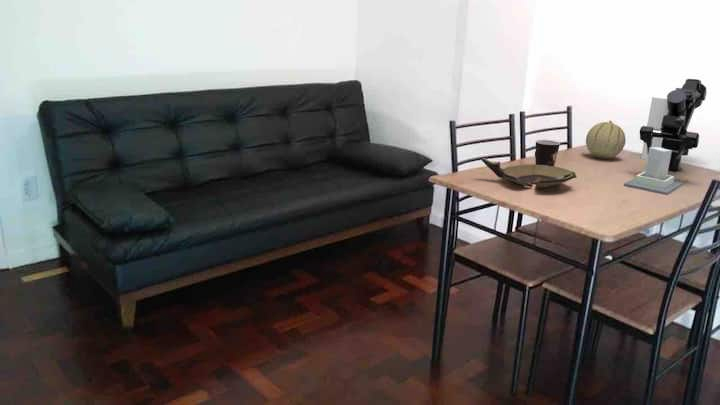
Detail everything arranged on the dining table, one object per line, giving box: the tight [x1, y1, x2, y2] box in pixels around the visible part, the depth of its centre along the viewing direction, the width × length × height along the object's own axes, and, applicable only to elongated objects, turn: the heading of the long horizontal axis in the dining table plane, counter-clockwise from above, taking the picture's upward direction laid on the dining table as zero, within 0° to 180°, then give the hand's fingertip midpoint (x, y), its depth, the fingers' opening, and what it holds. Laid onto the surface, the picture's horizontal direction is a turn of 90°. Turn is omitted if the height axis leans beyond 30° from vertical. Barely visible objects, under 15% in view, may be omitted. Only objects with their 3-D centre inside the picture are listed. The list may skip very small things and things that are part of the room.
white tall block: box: [640, 95, 668, 161], centre depth 245 cm, size 7×7×25 cm
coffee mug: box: [534, 139, 561, 166], centre depth 224 cm, size 12×9×10 cm
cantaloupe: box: [585, 120, 627, 159], centre depth 244 cm, size 15×15×15 cm
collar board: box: [623, 170, 684, 196], centre depth 209 cm, size 18×14×3 cm
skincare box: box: [644, 147, 672, 180], centre depth 208 cm, size 6×4×12 cm
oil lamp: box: [480, 157, 577, 189], centre depth 205 cm, size 22×30×8 cm
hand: (662, 156), depth 212 cm, fingers open, 9 cm apart
